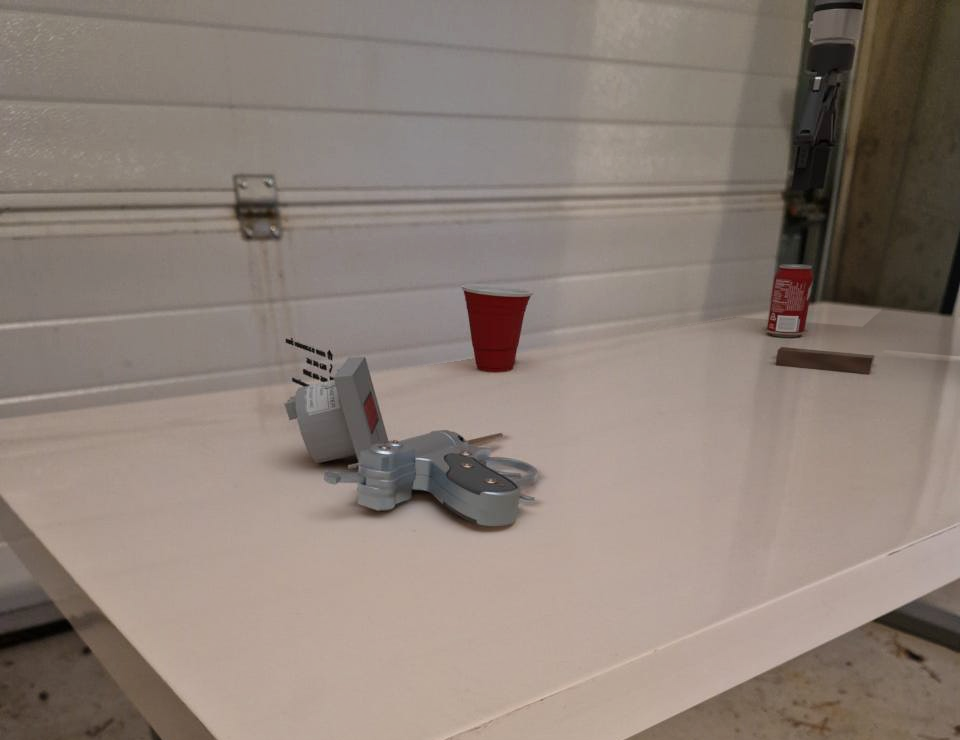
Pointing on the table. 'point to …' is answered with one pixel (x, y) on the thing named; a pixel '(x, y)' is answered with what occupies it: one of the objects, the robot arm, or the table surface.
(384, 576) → the table surface
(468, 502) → the grey metal jointed piece
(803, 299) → the soda can
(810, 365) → the walnut stick
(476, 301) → the plastic cup
